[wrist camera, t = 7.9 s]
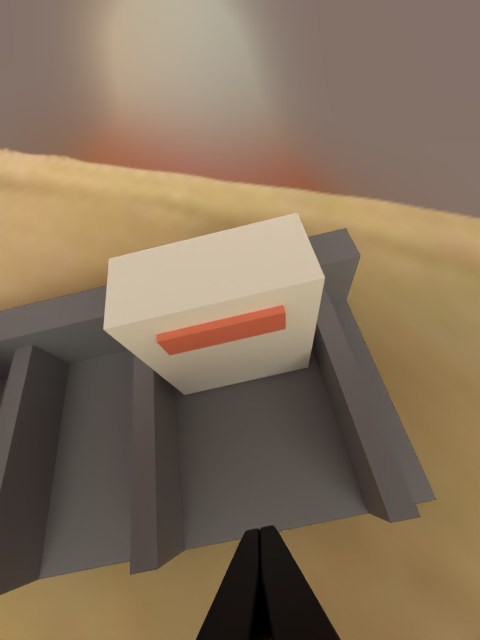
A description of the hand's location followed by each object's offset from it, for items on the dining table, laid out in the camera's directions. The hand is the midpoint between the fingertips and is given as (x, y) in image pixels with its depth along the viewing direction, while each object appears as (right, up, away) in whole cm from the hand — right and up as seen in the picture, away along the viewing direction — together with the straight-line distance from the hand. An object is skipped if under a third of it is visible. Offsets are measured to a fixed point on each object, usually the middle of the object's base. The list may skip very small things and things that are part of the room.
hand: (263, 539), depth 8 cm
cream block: (-1, +4, +8) cm, 9 cm away
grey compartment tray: (-8, 0, +9) cm, 12 cm away
